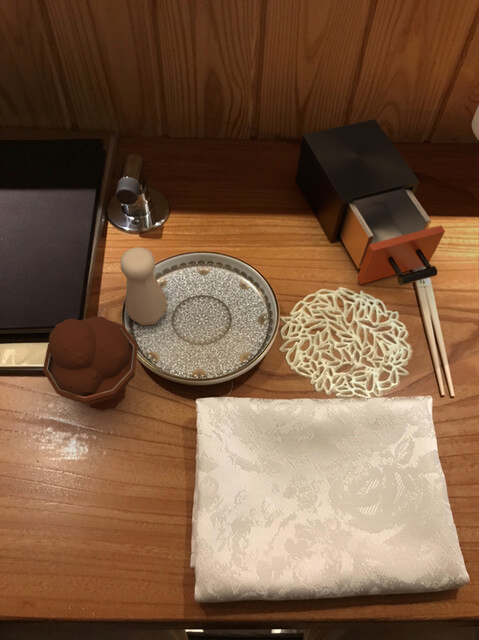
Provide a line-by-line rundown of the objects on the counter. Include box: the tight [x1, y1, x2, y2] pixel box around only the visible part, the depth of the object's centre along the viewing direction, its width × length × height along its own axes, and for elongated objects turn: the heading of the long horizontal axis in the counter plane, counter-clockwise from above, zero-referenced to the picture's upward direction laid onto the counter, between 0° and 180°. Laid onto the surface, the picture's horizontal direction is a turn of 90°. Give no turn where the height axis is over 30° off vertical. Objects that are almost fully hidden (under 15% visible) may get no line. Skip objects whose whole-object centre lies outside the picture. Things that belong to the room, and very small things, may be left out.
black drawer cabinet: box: [295, 118, 420, 244], centre depth 89 cm, size 15×13×10 cm
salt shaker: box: [120, 246, 168, 327], centre depth 75 cm, size 6×6×13 cm
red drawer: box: [338, 188, 446, 287], centre depth 83 cm, size 18×11×8 cm, turn 19°
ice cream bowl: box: [42, 315, 139, 412], centre depth 67 cm, size 11×11×15 cm
